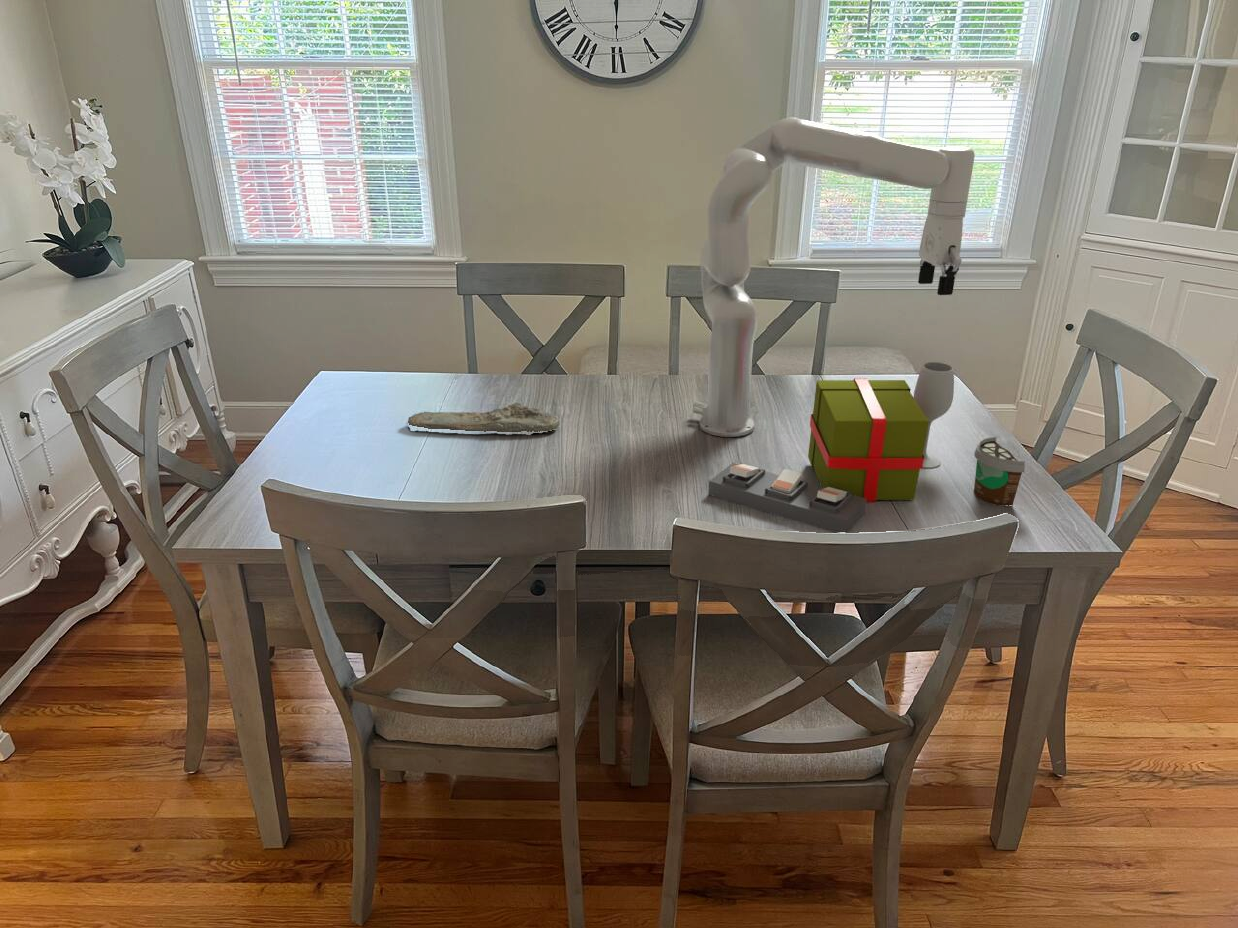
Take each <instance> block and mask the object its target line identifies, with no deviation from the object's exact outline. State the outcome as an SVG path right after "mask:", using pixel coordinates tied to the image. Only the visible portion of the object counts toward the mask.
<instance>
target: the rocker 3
mask: <svg viewBox="0 0 1238 928" xmlns="http://www.w3.org/2000/svg"><path fill="white" fill-rule="evenodd" d="M846 494H847V492H846V491H842V490H838V489H835V488H831V487H827V488H824V489H821V490H819V491H818V493H817V497H818V498H822V499H825V500H829V501H832V502H837V501H840V500H842V499H844V498H846Z"/></svg>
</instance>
